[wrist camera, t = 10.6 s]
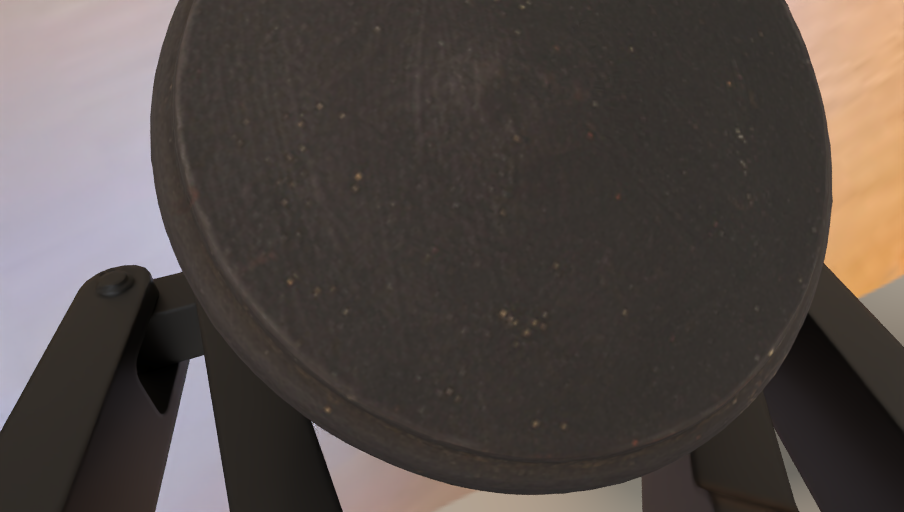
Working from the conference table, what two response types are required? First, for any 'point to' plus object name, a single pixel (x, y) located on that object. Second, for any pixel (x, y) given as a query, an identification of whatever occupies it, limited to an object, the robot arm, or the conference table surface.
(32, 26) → the conference table surface
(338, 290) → the container
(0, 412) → the conference table surface
